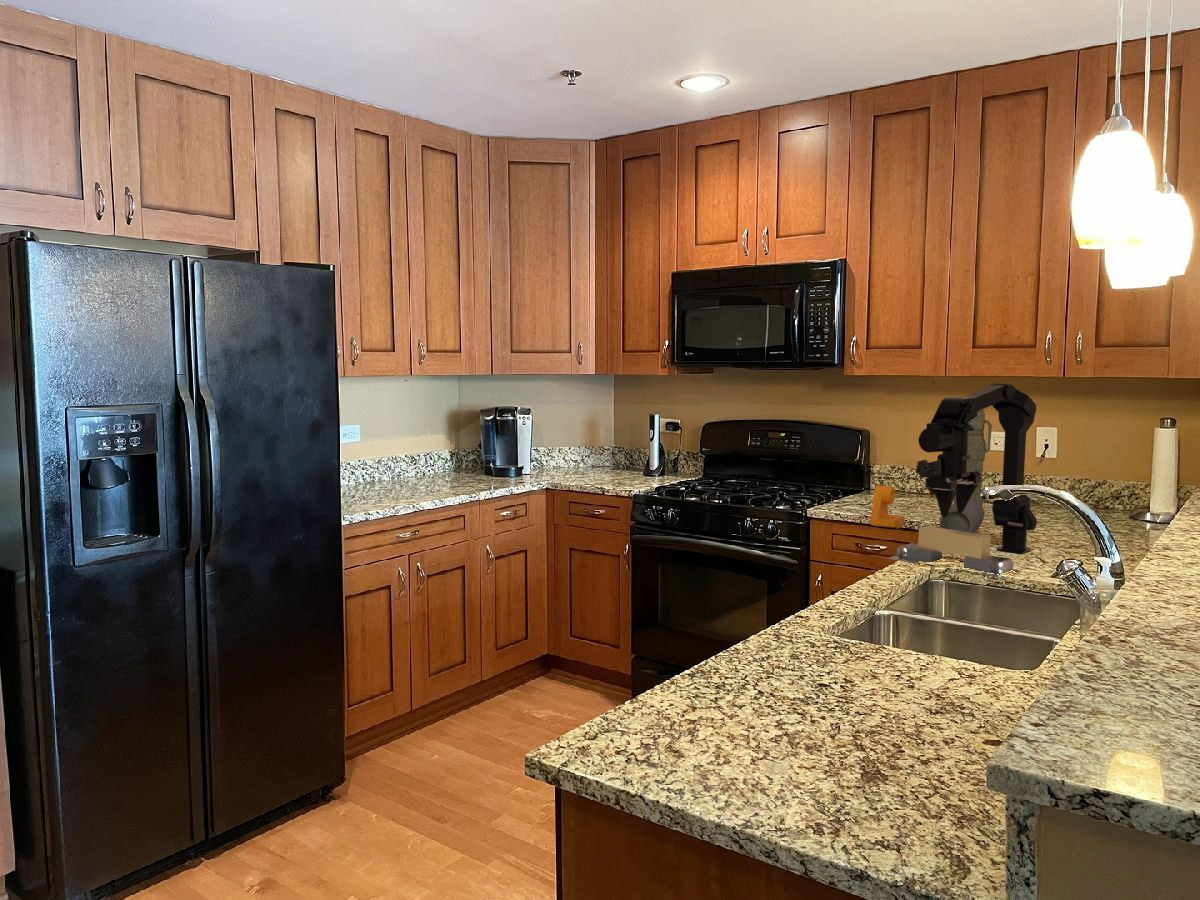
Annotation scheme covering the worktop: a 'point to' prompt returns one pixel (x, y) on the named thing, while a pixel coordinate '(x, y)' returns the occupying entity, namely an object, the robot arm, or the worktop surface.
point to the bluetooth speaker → (964, 518)
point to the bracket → (884, 508)
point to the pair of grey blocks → (986, 564)
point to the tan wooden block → (954, 542)
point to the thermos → (977, 450)
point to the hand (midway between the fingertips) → (952, 514)
